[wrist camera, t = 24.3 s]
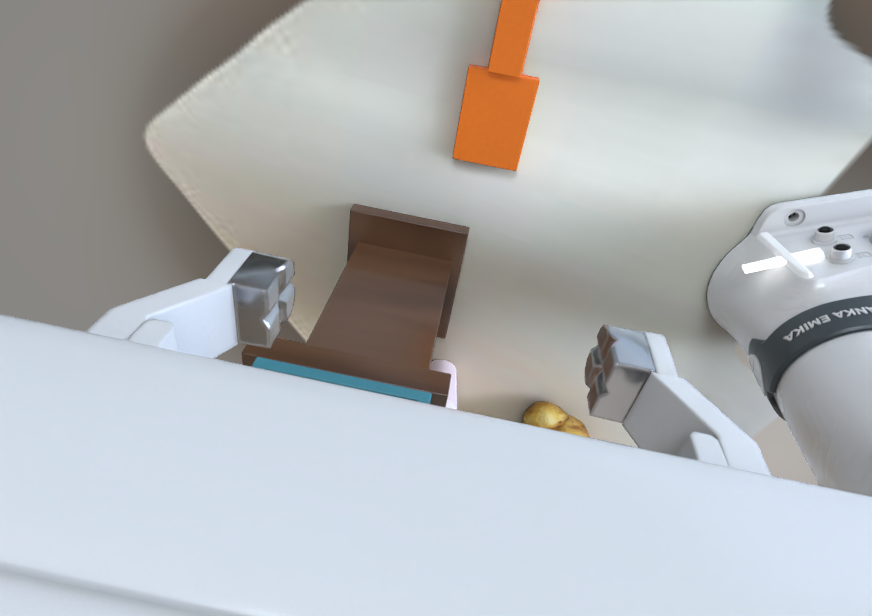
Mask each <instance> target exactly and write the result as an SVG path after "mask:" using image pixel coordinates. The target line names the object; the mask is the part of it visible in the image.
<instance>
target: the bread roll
mask: <svg viewBox="0 0 872 616" xmlns="http://www.w3.org/2000/svg"><path fill="white" fill-rule="evenodd" d="M522 423H523V424H527V425H532V426H537V427H541V428H546V429H551V430H556V431H560V432H565V433H570V434H575V435H579V436H584V437H589V438H590V436H589V434H588V431H587V430H586V427H585V426H584V424H583V423H582V422H581V421H580V420H578V419H576V418H574V417H572V416H570V415H567V413H565V412H564V411H563V410H562V409H561V408H560V407H558V406H556V405H554V404H552V403H549V402H544V401H541V402H536V403H534V404H533V405H531V406H530V407H529V408H528V409H527V410H526V412H525V414H524V417H523V421H522Z"/></svg>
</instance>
